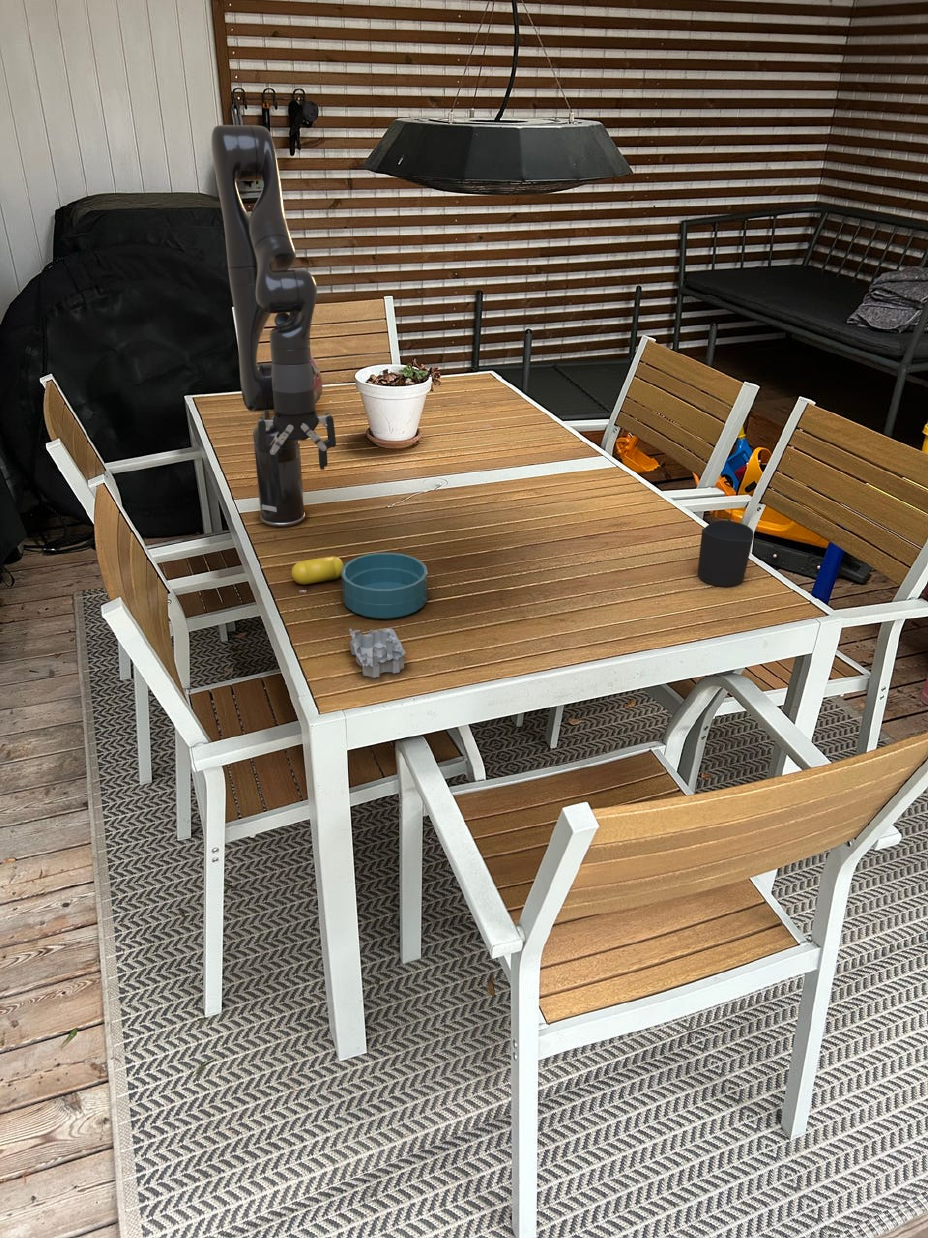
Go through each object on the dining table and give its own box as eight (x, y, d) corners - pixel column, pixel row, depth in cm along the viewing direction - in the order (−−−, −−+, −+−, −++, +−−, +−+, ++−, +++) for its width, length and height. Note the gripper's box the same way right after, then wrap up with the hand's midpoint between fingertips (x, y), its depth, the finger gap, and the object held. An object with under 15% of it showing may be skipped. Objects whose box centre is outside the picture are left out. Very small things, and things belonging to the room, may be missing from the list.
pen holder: (753, 586, 180) (762, 538, 175) (707, 590, 178) (715, 542, 173) (731, 565, 188) (740, 518, 183) (687, 568, 186) (694, 521, 181)
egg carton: (347, 648, 158) (346, 626, 156) (391, 641, 160) (390, 620, 158) (362, 681, 149) (361, 658, 147) (408, 673, 151) (408, 651, 149)
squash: (295, 590, 175) (294, 568, 173) (289, 580, 179) (288, 559, 176) (352, 580, 179) (351, 559, 177) (345, 570, 182) (344, 550, 180)
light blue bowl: (327, 596, 173) (325, 566, 170) (395, 574, 182) (395, 545, 179) (373, 629, 163) (372, 598, 160) (443, 604, 171) (444, 574, 168)
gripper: (329, 378, 178) (333, 461, 186) (251, 382, 175) (259, 466, 182) (335, 388, 172) (339, 474, 179) (255, 393, 168) (263, 480, 176)
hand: (299, 470), depth 181 cm, fingers open, 8 cm apart
